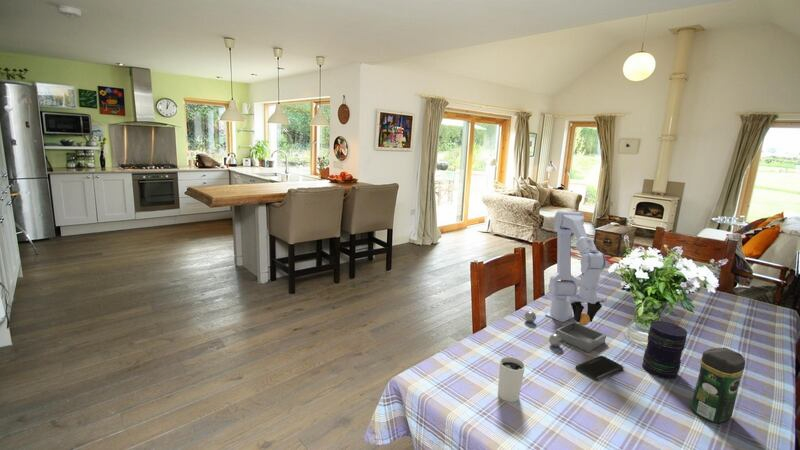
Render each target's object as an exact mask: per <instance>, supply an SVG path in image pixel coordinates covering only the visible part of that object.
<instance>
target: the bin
mask: <svg viewBox="0 0 800 450" xmlns="http://www.w3.org/2000/svg"><path fill="white" fill-rule="evenodd" d="M554 334H558V335H559V336H561V338H562V343H563V342H564V343H566V344H568V345H570V346H572V347H574V348H576V349H579V350H581V351H583V352H585V353H587V354H589V353H591V352H593V351H594V350H596V349H597V348H599V347H600V346H602V345H603V344H605V343H606V340H607V334H606V333H603V332H601V331H598V330H595V329H594V328H591V327H589V326H587V325H581V324H579V323H578V322H576V321H575V320H573V321H571V322H569V323H566V324H565V325H563V326H561V327H559V328H557V329H555V333H554Z"/></svg>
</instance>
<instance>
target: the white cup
mask: <svg viewBox="0 0 800 450" xmlns="http://www.w3.org/2000/svg"><path fill="white" fill-rule="evenodd" d="M525 369H526V365H525V362H523V360H521V359H519V358H517V357H514V356H503V357H501V358H500V361H499V370H498V383H497V384H498V385H497V386H498V387H497V395H498V397H499V398H500V399H502V400H503V401H505V402H509V403H514V402H515V403H516V402H517V401H518V400H519V399H520V395H521V389H522V383H523V378H524V374H525Z"/></svg>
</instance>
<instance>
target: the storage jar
mask: <svg viewBox="0 0 800 450" xmlns="http://www.w3.org/2000/svg"><path fill="white" fill-rule="evenodd" d="M687 336H688V331H687V330H686V329H685V328H683V327H681V326H679V325H677V324H674V323H671V322H669V321H662V320H654V321H651V323H650V327H649V330H648V336H647V343H646V344H647V345H646V349H645V350H644V353H643V359H642V365H641V366H642V368H643V370H644V371H646V372H647V373H648V374H651V375H652V376H655V377H657V378H660V379H664V380H675V379H677V378H678V374H679V371H680V369H681V363H682V360H681V357H682V354H683V351H684V350H685V346H686V343H687Z"/></svg>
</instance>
